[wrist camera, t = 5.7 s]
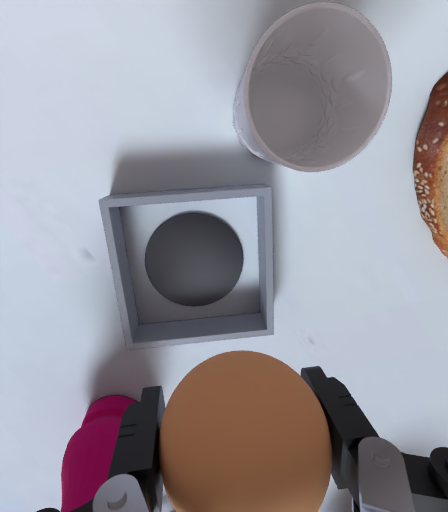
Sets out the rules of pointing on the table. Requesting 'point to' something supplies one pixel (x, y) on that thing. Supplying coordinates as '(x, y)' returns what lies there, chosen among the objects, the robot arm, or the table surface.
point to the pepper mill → (91, 451)
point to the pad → (194, 259)
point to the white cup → (314, 88)
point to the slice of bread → (434, 165)
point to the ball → (244, 438)
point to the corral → (193, 328)
